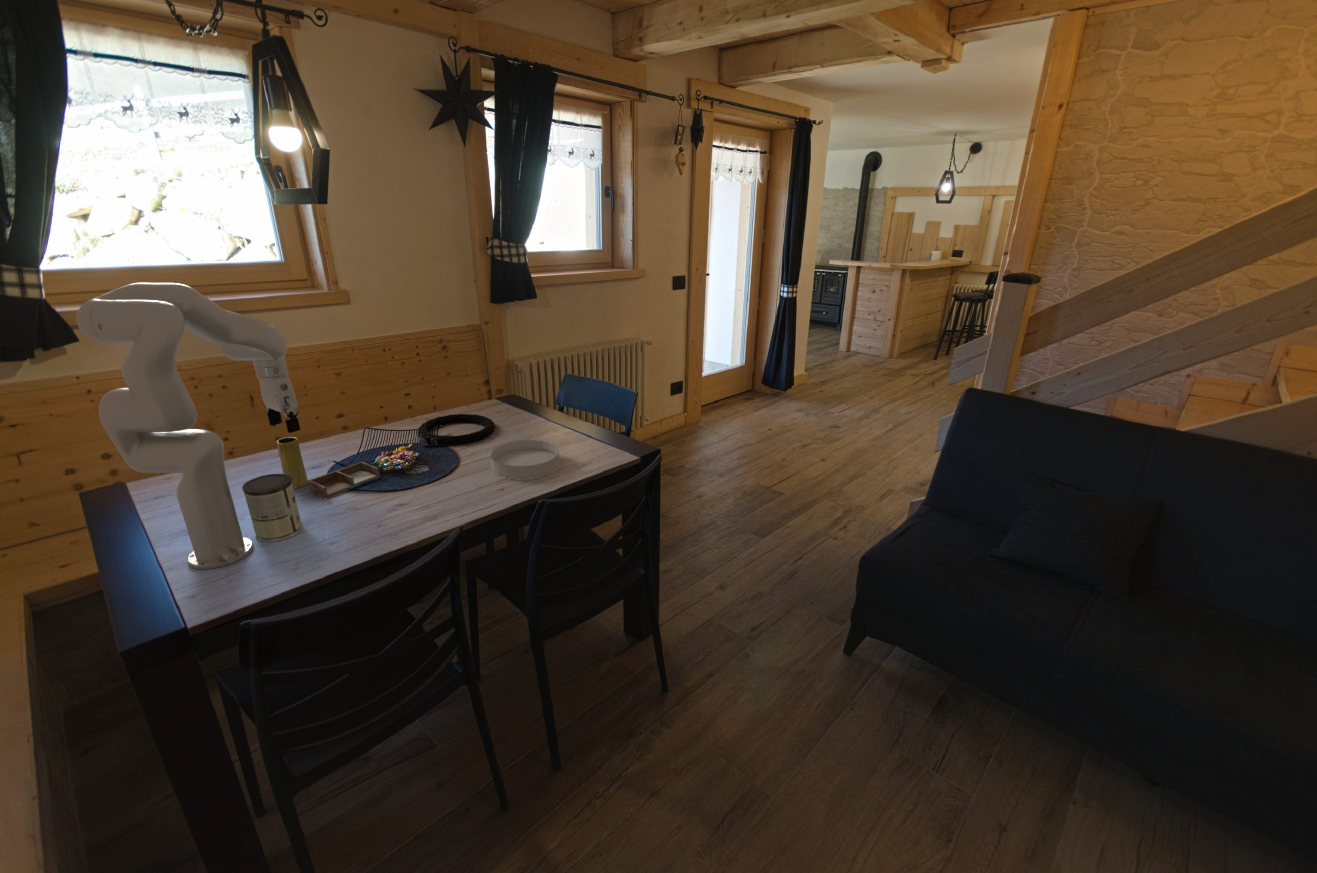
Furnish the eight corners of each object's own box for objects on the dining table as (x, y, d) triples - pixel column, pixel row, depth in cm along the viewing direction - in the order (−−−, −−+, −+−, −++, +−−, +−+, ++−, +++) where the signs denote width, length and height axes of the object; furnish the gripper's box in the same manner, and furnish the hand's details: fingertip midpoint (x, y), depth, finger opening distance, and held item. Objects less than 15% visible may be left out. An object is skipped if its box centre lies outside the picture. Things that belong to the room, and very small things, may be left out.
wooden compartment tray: (379, 478, 178) (378, 467, 177) (326, 498, 165) (323, 487, 164) (363, 471, 183) (361, 461, 181) (309, 491, 169) (307, 480, 168)
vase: (282, 489, 170) (271, 444, 165) (288, 480, 175) (278, 437, 170) (305, 487, 171) (295, 443, 166) (311, 479, 177) (301, 435, 172)
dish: (567, 455, 199) (567, 441, 197) (550, 483, 179) (549, 468, 177) (504, 451, 201) (503, 438, 199) (480, 478, 181) (479, 464, 179)
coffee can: (251, 530, 148) (238, 481, 143) (296, 517, 155) (285, 469, 150) (260, 547, 141) (246, 495, 136) (307, 532, 148) (296, 483, 143)
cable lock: (510, 420, 220) (450, 445, 196) (510, 429, 222) (451, 455, 197) (457, 408, 232) (393, 430, 207) (457, 417, 234) (395, 440, 209)
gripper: (302, 372, 160) (314, 430, 166) (269, 362, 168) (282, 417, 175) (273, 379, 154) (287, 438, 160) (241, 368, 162) (256, 425, 169)
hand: (285, 427), depth 167 cm, fingers open, 9 cm apart
